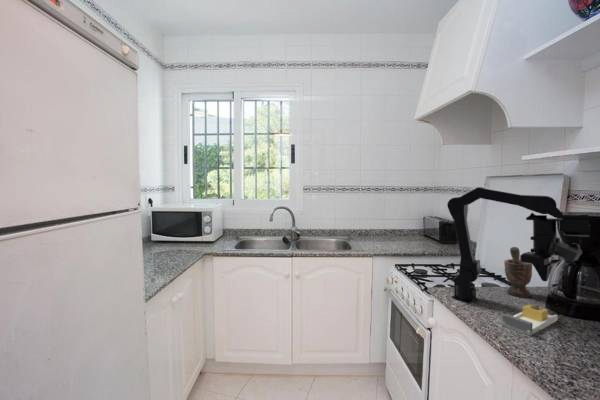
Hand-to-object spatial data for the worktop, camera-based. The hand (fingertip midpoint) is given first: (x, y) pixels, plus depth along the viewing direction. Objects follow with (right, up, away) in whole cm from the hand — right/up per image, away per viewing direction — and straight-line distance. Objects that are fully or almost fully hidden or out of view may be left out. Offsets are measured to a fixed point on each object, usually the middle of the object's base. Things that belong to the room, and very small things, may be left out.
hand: (544, 281), depth 91 cm
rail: (-8, -12, -4) cm, 15 cm away
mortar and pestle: (+5, -11, +17) cm, 21 cm away
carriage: (-6, -11, -3) cm, 13 cm away
